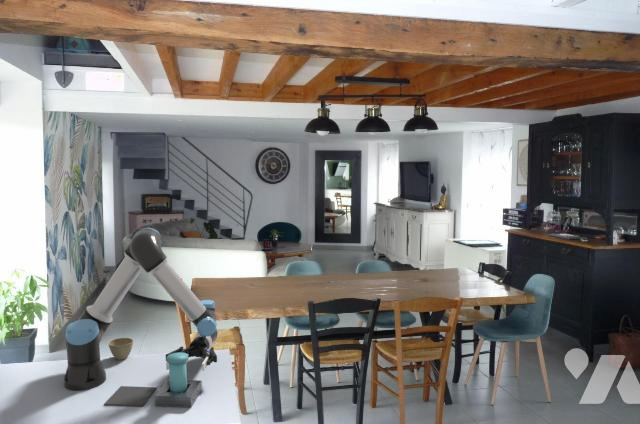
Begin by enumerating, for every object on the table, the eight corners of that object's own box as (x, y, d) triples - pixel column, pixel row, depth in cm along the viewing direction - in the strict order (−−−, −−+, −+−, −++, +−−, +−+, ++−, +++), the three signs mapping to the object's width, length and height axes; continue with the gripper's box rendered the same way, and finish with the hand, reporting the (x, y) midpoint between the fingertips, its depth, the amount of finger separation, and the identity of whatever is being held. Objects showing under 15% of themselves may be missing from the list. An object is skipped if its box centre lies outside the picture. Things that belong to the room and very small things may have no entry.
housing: (155, 406, 195) (154, 395, 194) (167, 389, 208) (167, 379, 207) (191, 407, 194) (190, 396, 193) (201, 390, 207) (201, 380, 206)
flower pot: (125, 363, 232) (125, 346, 231) (104, 361, 234) (103, 345, 233) (138, 353, 242) (137, 338, 241) (117, 352, 244) (116, 336, 243)
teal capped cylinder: (165, 403, 197) (163, 360, 195) (172, 393, 205) (170, 352, 202) (186, 403, 197) (184, 361, 194) (192, 393, 204) (190, 352, 202)
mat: (104, 405, 196) (103, 403, 195) (120, 387, 209) (120, 386, 209) (142, 406, 195) (142, 405, 194) (156, 388, 208) (156, 387, 208)
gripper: (230, 354, 226) (218, 377, 205) (171, 353, 228) (152, 375, 207) (230, 337, 225) (217, 357, 204) (170, 335, 227) (152, 356, 206)
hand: (185, 366), depth 205 cm, fingers open, 13 cm apart
